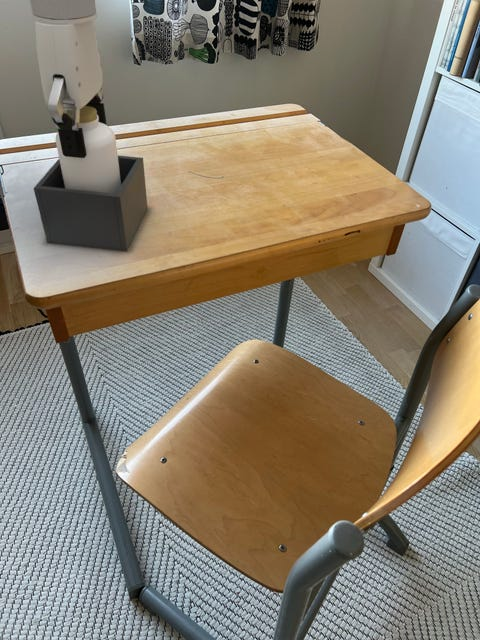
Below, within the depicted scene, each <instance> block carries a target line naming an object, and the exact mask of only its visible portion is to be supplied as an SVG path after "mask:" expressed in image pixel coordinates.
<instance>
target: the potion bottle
mask: <svg viewBox="0 0 480 640" xmlns="http://www.w3.org/2000/svg"><path fill="white" fill-rule="evenodd" d="M65 113H67V114H68V115H69V116H70V118H71V119H72V111H71V110H66V112H65ZM98 121H99V117H98V115H97V110H96V109H95V108H93V107H90V106H84V107H83V108H81V109H80V119H79V128H82V130H83V136H84V142H85V148H86V154H87V155H86V157H85V158H77V157H66V156H64V155H63V153H62V148H61V143H60V138H59V133H58V131H57V132H56V134H55V145H56V149H57V154H58V159H59V160H60V165H61V170H62V175H63V180H64V185H65V189H74V190H84V191H94V192H104V193H114V194H116V193H117V192H118V190H119V188H120V187H121V180H120V171H119V163H118V146H117V139H116V138H117V137H116V134H115V132H114V130H113V129H112V128H111V127H110V126H108V125H105V124H103V123H100V122H98Z"/></svg>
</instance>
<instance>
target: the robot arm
mask: <svg viewBox="0 0 480 640" xmlns="http://www.w3.org/2000/svg"><path fill="white" fill-rule="evenodd" d="M29 4H30V9H31V12H32V13H31V14H32V18H33V20H34V21H35V22H34V28H35V29H34V31H35V44H36V55H37V62H38V68H39V75H40V80H41V88H42V93H43V98H44V102H45V104H46V106H47V110H48V112H49V114H50V115H51V120H52V122H53V123H54V124H55V125H54V127H55V129H56V130H57V132H58V133H59V138H60V143H61V148H62V153H63V155H64V156H66V157H77V158H85V157H86V155H87V154H86V148H85V142H84V136H83V130H82V128H79V119H80V109H81V108H83V107H84V106H90V107H93V108H95V109H96V110H97V115H98V117H99V121H98V122H100V123H103V124H105V125H107V116H106V110H105V103H104V100H105V96H104V92H103V91H102V89H103V88H102V87H103V85H104V84H103V68H102V61H101V54H100V48H99V42H98V38H97V32H96V27H95V22H94V20H96V19H97V17H98V15H97V7H96V0H29ZM64 101H70V102H73V103H69V102H64ZM67 110H71V111H72V119H71V118H70V116H69V115H68V114H67V113H66V112H65V111H67ZM107 126H108V125H107Z"/></svg>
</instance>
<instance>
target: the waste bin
mask: <svg viewBox="0 0 480 640" xmlns="http://www.w3.org/2000/svg"><path fill="white" fill-rule="evenodd" d="M118 163H119V171H120V180H121V187H120V188H119V190H118V192H117V193H116V194H114V193H104V192H94V191H84V190H74V189H65V185H64V180H63V175H62V170H61V165H60V160H59V158H58V159H57V160H56V161H55V162H54V164H53V165H52V166H51V167H50V168H49V169H48V171H47V172H46V173H45V174H44V175H43V177H42V178H41V179H40V180H39V181H38V182H37V183H36V185H34V187H33V192H34V196H35V199H36V203H37V204H36V205H37V208H38V212H39V215H40V220H41V224H42V228H43V231H44V236H45V240H46V244H49V245H58V246H70V247H77V248H78V247H79V248H88V249H97V250H104V251H105V250H106V251H116V252H117V251H118V252H125V253H126V252H128V251H129V249H130V247H131V245H132V243H133V242H134V239H135V237H136V235H137V233H138V231H139V228H140V227H141V225H142V223H143V220H144V219H145V216H146V214H147V212H148V210H149V209H148V198H147V197H148V196H147V188H146V187H147V186H146V174H145V163H144V158H143V157H138V156H130V155H129V156H127V155H118Z"/></svg>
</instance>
